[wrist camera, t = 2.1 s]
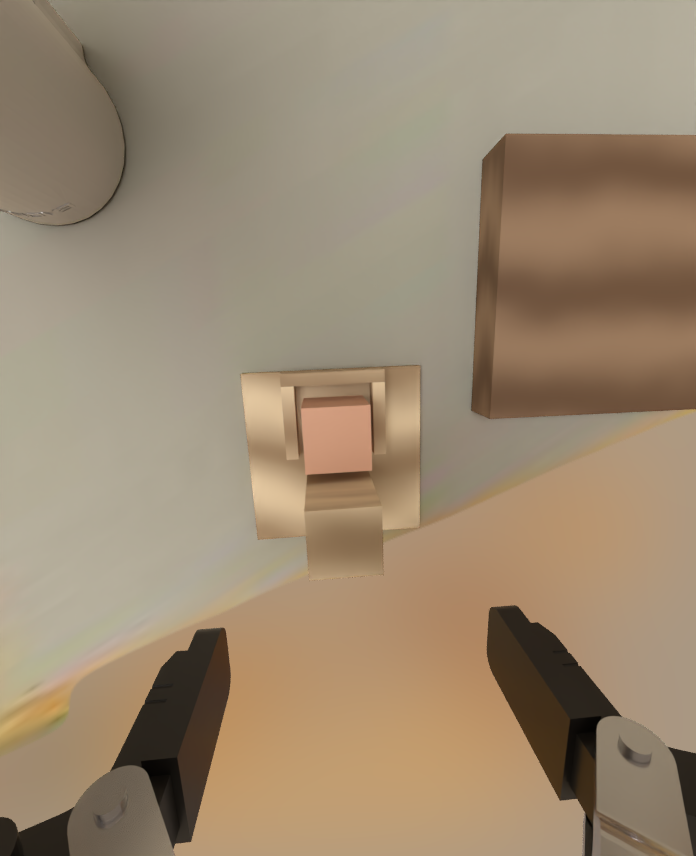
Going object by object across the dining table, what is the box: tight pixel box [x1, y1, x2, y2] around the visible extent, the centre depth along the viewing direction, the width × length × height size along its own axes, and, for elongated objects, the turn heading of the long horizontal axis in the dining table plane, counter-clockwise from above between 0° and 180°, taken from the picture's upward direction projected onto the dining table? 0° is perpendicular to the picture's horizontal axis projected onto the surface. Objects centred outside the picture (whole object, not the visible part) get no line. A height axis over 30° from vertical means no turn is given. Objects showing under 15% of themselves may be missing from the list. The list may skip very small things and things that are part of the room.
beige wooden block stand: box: [240, 365, 420, 581], centre depth 23 cm, size 12×12×9 cm
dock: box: [471, 134, 696, 419], centre depth 24 cm, size 16×16×3 cm
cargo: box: [301, 395, 372, 475], centre depth 24 cm, size 4×4×4 cm
